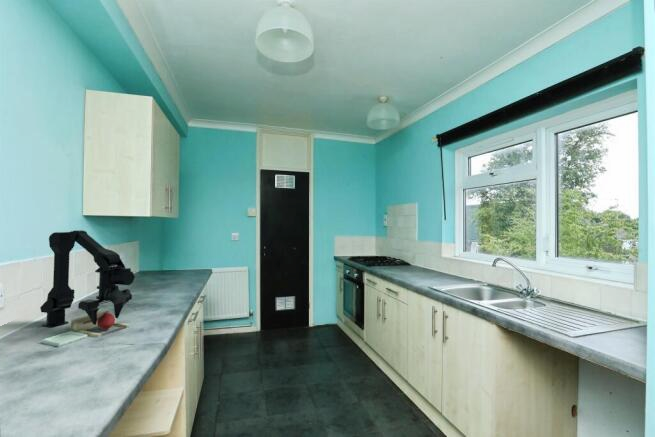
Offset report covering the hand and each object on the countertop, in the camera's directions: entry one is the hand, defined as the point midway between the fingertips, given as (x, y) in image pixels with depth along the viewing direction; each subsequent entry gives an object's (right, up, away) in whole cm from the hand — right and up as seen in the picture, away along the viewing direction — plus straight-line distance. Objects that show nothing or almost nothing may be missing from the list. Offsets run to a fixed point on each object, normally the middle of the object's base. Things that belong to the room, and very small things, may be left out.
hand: (106, 321), depth 127 cm
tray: (-7, -3, -11) cm, 14 cm away
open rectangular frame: (-3, -4, +1) cm, 5 cm away
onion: (0, -4, 0) cm, 4 cm away
